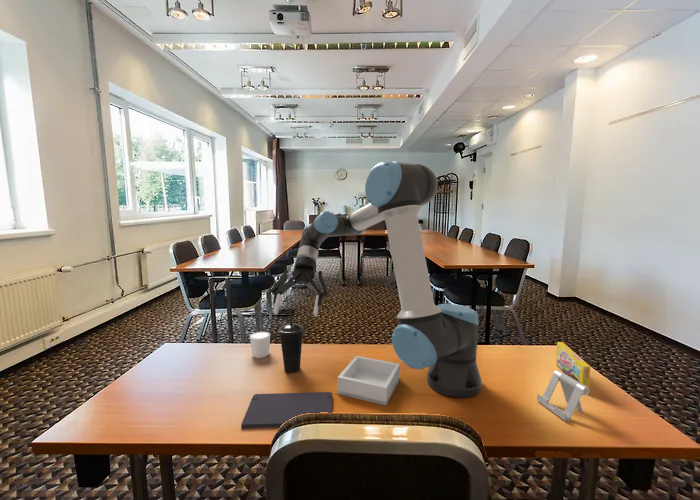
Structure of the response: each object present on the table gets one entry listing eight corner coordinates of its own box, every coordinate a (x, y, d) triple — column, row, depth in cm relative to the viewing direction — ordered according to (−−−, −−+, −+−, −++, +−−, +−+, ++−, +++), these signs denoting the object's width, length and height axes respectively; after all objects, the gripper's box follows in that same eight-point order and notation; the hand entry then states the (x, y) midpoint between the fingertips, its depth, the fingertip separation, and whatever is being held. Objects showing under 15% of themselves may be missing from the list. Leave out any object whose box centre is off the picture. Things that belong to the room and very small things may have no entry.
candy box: (554, 365, 109) (556, 341, 108) (561, 366, 108) (564, 341, 107) (580, 393, 93) (583, 365, 92) (589, 394, 93) (592, 366, 91)
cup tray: (399, 379, 100) (400, 363, 99) (386, 405, 87) (386, 387, 86) (356, 370, 105) (356, 355, 105) (337, 394, 92) (337, 377, 92)
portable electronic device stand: (536, 401, 89) (539, 372, 88) (560, 397, 91) (563, 369, 90) (563, 422, 81) (567, 390, 80) (590, 417, 82) (593, 386, 81)
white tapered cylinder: (246, 357, 114) (246, 338, 113) (256, 349, 121) (255, 330, 120) (265, 359, 113) (265, 339, 112) (274, 350, 120) (273, 332, 119)
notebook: (241, 430, 79) (332, 427, 80) (240, 424, 78) (332, 421, 79) (253, 399, 91) (332, 396, 92) (253, 393, 91) (332, 391, 92)
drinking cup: (306, 364, 109) (305, 305, 107) (301, 376, 102) (299, 313, 99) (284, 363, 110) (282, 304, 107) (276, 374, 103) (274, 312, 100)
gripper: (341, 267, 124) (333, 320, 112) (276, 265, 128) (262, 316, 115) (338, 255, 118) (330, 310, 106) (271, 254, 122) (255, 306, 109)
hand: (294, 313), depth 111 cm, fingers open, 13 cm apart
